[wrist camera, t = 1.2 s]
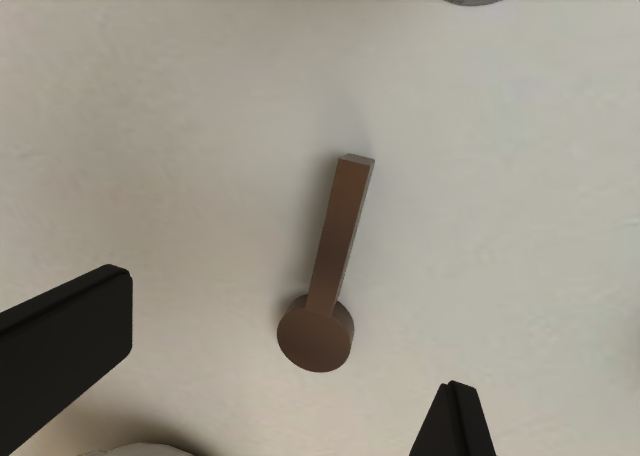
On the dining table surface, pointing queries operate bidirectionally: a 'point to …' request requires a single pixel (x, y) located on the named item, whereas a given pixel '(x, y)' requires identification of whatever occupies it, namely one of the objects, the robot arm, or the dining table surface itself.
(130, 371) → the dining table surface
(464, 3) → the wine glass
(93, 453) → the chamber pot
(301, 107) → the dining table surface
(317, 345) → the wooden spoon
